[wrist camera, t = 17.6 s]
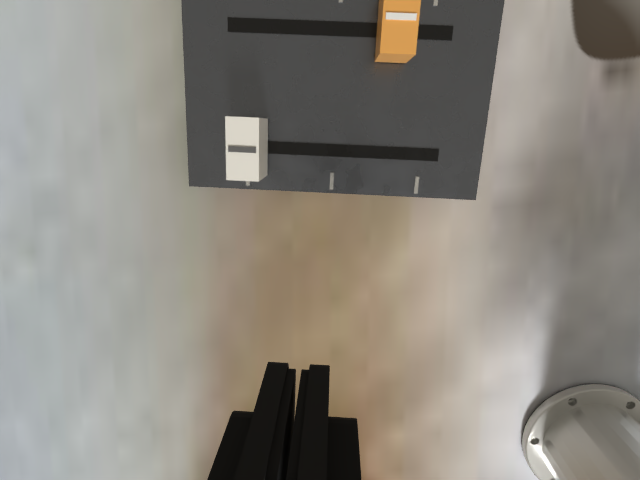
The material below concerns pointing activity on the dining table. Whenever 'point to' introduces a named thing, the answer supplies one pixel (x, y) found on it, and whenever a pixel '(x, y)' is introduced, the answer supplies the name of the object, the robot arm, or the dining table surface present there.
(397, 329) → the dining table surface
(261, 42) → the console
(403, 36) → the orange fader
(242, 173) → the cream fader
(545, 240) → the dining table surface
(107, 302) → the dining table surface
